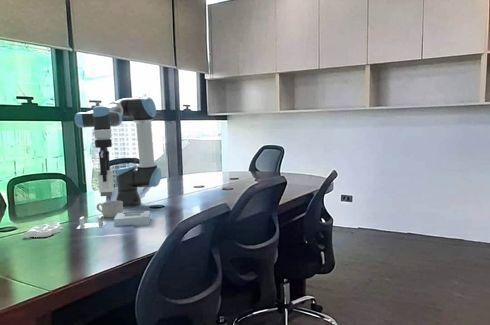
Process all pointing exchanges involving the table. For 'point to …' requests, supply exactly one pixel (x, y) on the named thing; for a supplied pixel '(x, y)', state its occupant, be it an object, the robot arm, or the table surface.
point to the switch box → (132, 218)
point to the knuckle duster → (43, 230)
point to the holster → (91, 225)
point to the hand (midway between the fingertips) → (106, 187)
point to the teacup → (111, 208)
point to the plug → (110, 182)
